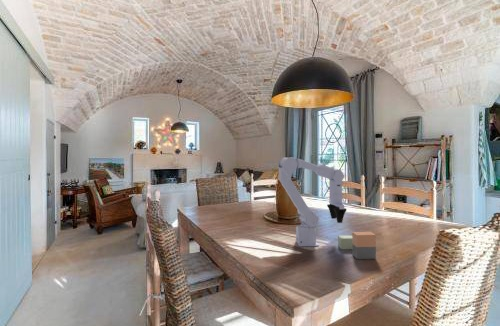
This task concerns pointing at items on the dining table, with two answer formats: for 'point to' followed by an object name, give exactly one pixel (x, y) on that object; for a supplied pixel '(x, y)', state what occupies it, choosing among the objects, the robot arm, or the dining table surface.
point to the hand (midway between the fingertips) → (336, 220)
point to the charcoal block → (364, 252)
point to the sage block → (345, 242)
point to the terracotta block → (364, 239)
